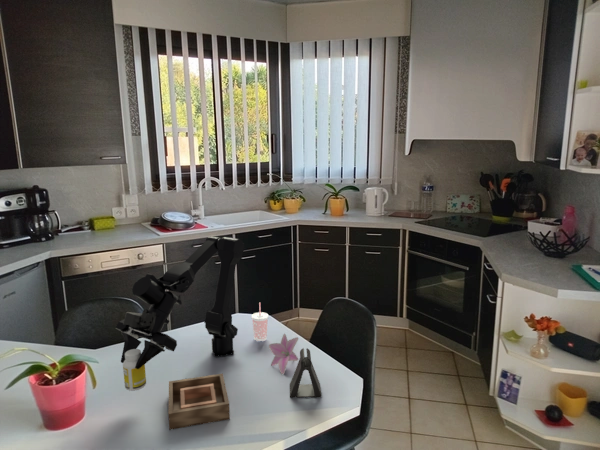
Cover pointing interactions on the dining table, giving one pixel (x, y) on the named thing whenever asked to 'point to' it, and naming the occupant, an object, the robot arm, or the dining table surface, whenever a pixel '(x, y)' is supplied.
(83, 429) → the dining table surface
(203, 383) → the box
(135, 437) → the dining table surface
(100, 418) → the dining table surface
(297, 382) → the phone stand
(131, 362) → the supplement bottle
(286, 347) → the lily
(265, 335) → the beverage cup
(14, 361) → the dining table surface
